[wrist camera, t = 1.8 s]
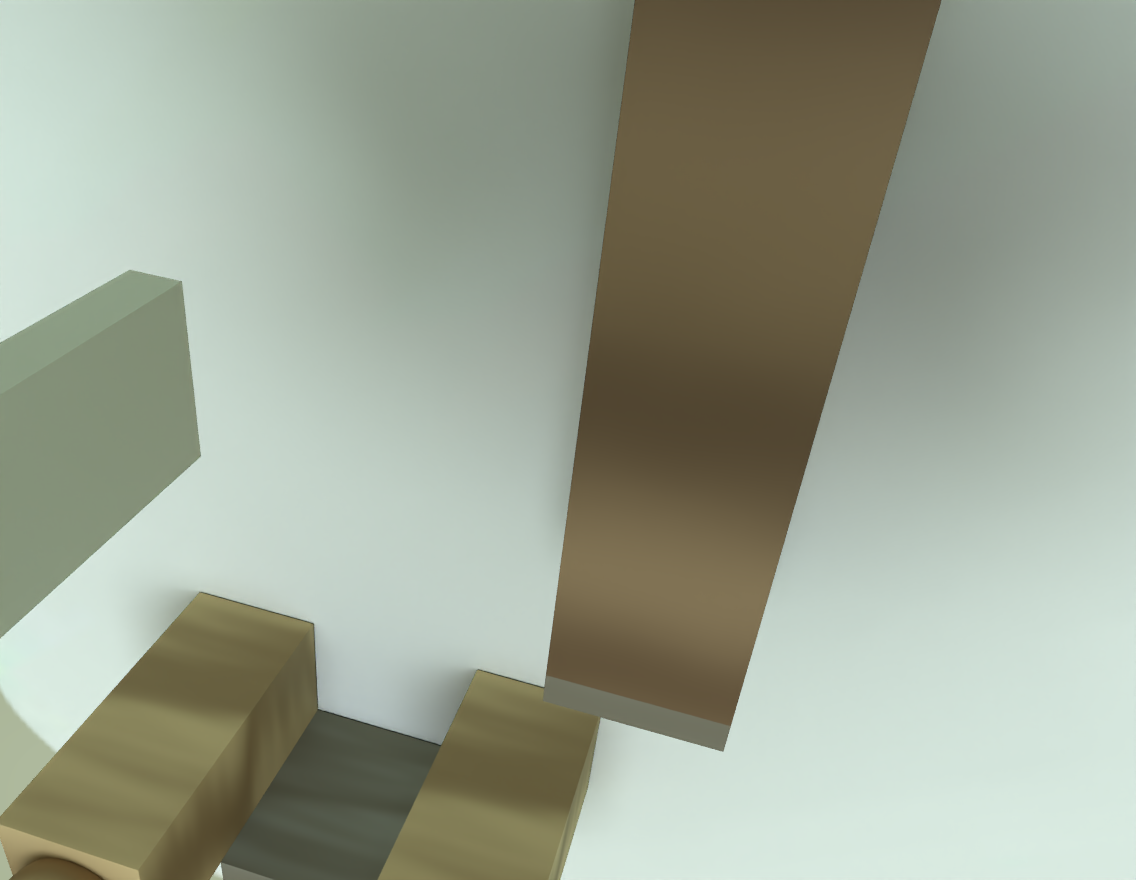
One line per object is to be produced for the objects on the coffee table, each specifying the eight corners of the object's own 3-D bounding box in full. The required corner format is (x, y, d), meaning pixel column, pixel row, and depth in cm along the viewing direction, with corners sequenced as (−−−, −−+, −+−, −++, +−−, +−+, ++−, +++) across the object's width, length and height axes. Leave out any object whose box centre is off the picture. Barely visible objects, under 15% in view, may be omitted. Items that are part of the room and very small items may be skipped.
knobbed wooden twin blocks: (199, 592, 32) (-84, 909, 22) (602, 705, 30) (476, 1108, 20) (214, 702, 35) (-32, 1025, 25) (583, 812, 32) (464, 1210, 23)
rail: (703, -78, 18) (641, -47, 13) (922, -47, 18) (941, -1, 13) (604, 538, 26) (542, 701, 21) (752, 575, 26) (723, 752, 21)
